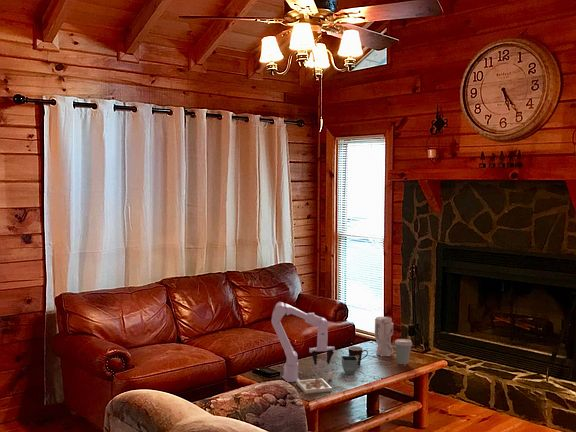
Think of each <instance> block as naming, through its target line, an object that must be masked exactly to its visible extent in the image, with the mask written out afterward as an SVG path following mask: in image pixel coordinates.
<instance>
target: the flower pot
mask: <svg viewBox="0 0 576 432" xmlns="http://www.w3.org/2000/svg"><path fill="white" fill-rule="evenodd" d="M340 359H341V366H342V370H343V372H344V374H345V375H355V374H356V372H357V370H358V367H359V366H358V359H357V357H356V356H349V355H341V357H340Z"/></svg>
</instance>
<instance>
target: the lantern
mask: <svg viewBox="0 0 576 432" xmlns="http://www.w3.org/2000/svg"><path fill="white" fill-rule="evenodd" d="M374 319H375V320H374V338H375V341H376V344H377V345H378V346H377V347H376V349H375V352H376V355H377V354H378V355H382V356H387V355H391V354H394V351H395V350H394V349H393V345H392V343H391V342H392V341H391V340H392V336H393V335H394V323H393V318H392V317H388V316H377V317H375V318H374ZM378 355H377V356H378ZM382 356H381V357H382ZM391 356H392V355H391Z"/></svg>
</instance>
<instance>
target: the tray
mask: <svg viewBox="0 0 576 432" xmlns="http://www.w3.org/2000/svg"><path fill="white" fill-rule="evenodd" d="M315 379H316V378H313V379H311V378H310V379H300V380H297V381H296V386H297V387H298V388H299V389H300V390H301V391H302V392H303V393H304V394H305V395H308V394H318V393H330V392H331V393H332V392H333V387H332V386H331V385H330V384H329V383H328V382H326V381H325V379H323V377H322V378H320V377H319V378H318V379H319V380H320V383H322V384H323V387H320V388H318V389H317V388H310V387H308V386H307V385H306V382H315Z"/></svg>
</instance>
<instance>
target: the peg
mask: <svg viewBox="0 0 576 432" xmlns="http://www.w3.org/2000/svg"><path fill="white" fill-rule="evenodd" d="M327 377H328V379H327V380H328V381H333V372H328V376H327Z"/></svg>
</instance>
